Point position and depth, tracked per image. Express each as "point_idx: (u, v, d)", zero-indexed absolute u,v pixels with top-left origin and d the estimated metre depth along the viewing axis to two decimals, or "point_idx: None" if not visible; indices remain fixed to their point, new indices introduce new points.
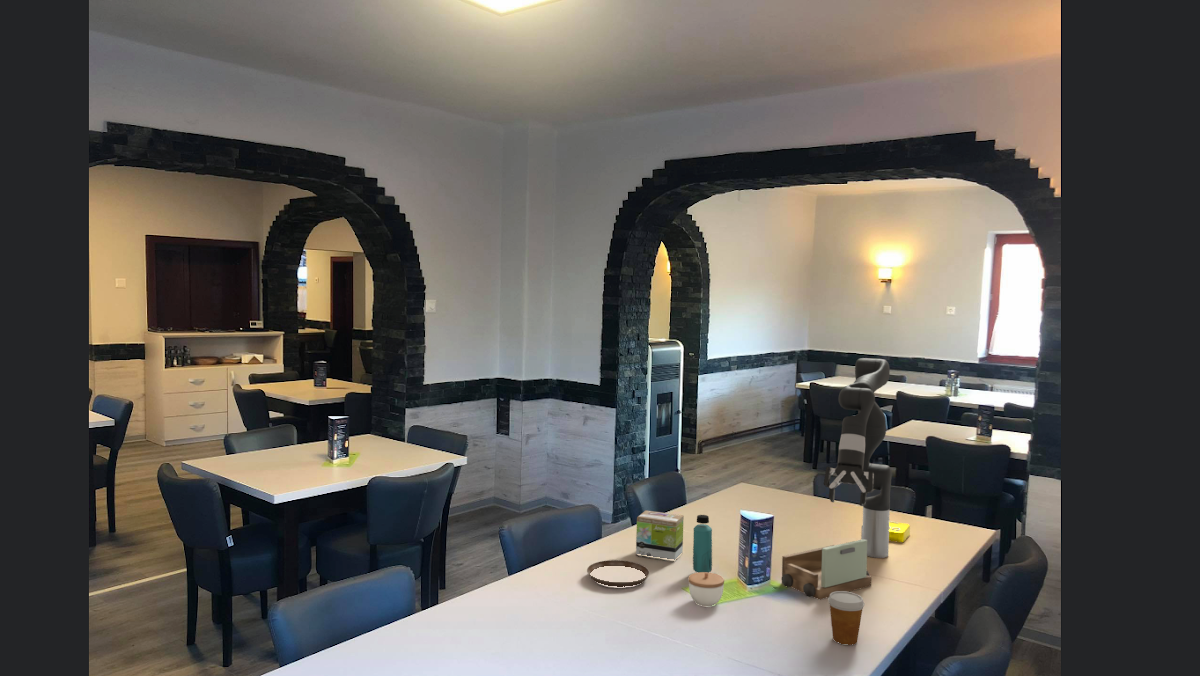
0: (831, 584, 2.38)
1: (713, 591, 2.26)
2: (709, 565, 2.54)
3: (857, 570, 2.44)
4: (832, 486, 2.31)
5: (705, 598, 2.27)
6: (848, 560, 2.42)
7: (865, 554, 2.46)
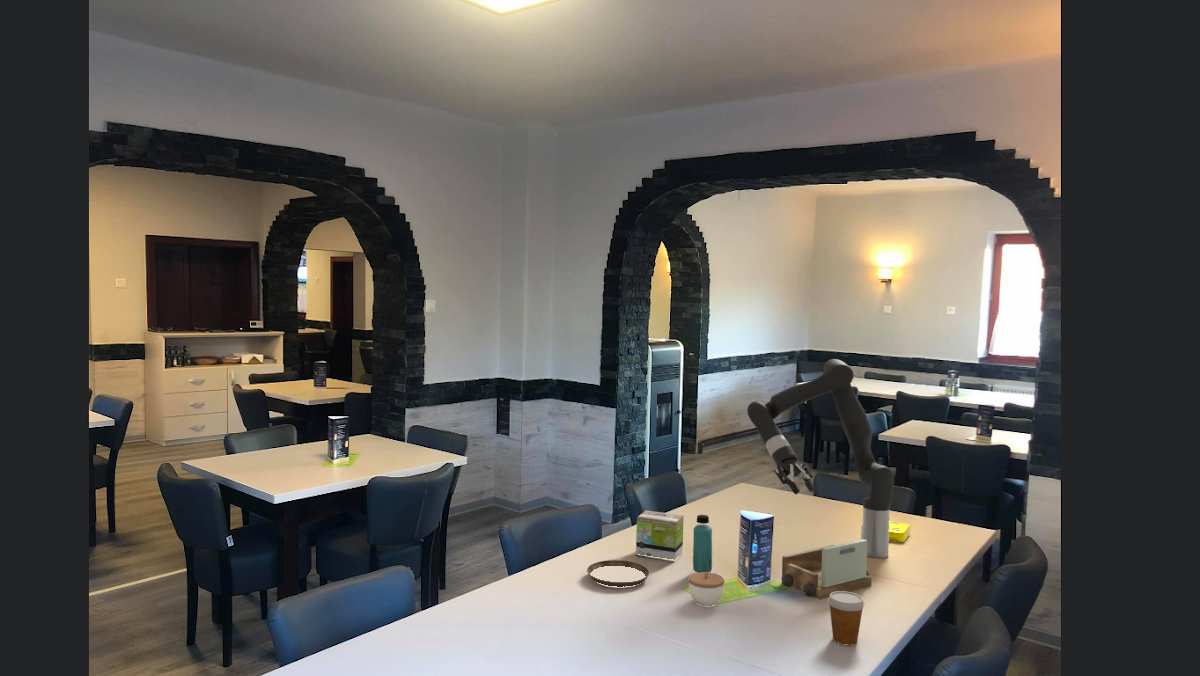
0: (831, 584, 2.38)
1: (713, 591, 2.26)
2: (709, 565, 2.54)
3: (857, 570, 2.44)
4: None
5: (705, 598, 2.27)
6: (848, 560, 2.42)
7: (865, 554, 2.46)
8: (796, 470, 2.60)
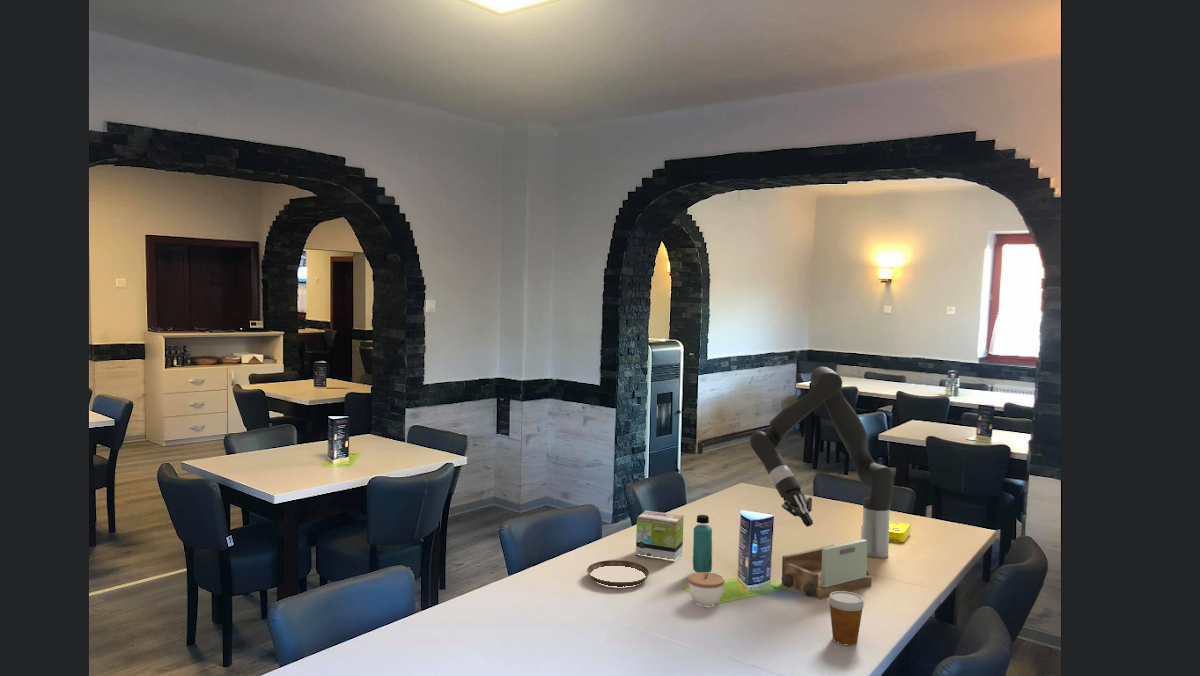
0: (831, 584, 2.38)
1: (713, 591, 2.26)
2: (709, 565, 2.54)
3: (857, 570, 2.44)
4: None
5: (705, 598, 2.27)
6: (848, 560, 2.42)
7: (865, 554, 2.46)
8: None
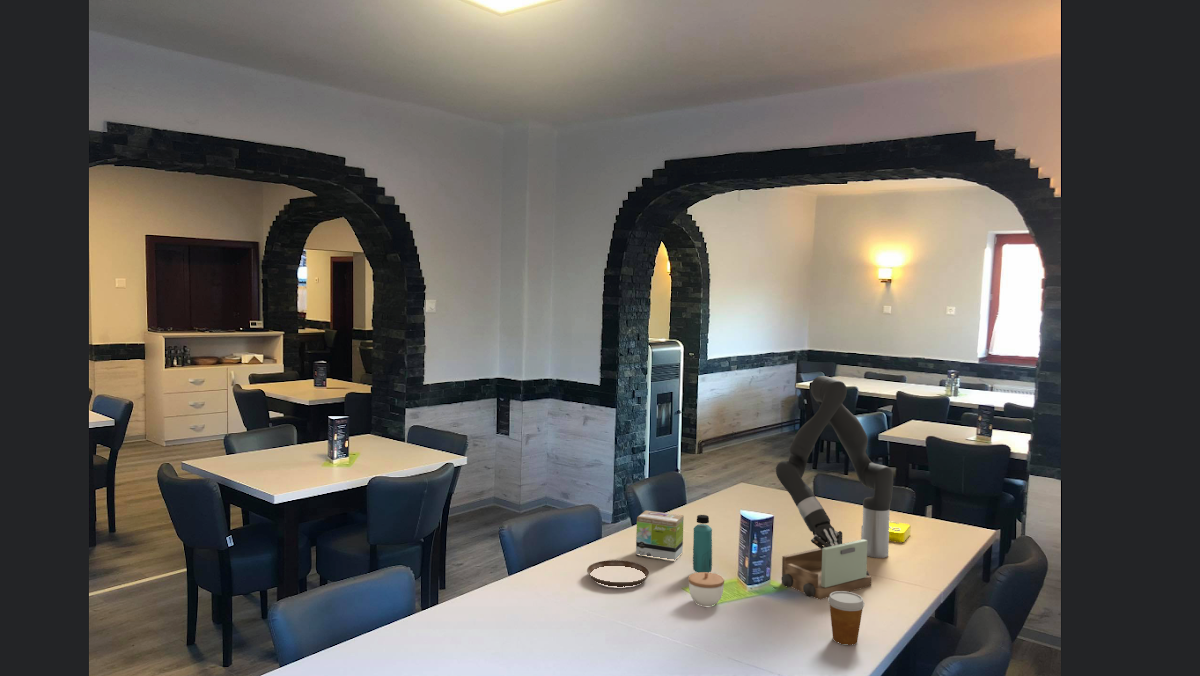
0: (831, 584, 2.38)
1: (713, 591, 2.26)
2: (709, 565, 2.54)
3: (857, 570, 2.44)
4: None
5: (705, 598, 2.27)
6: (848, 560, 2.42)
7: (865, 554, 2.46)
8: None
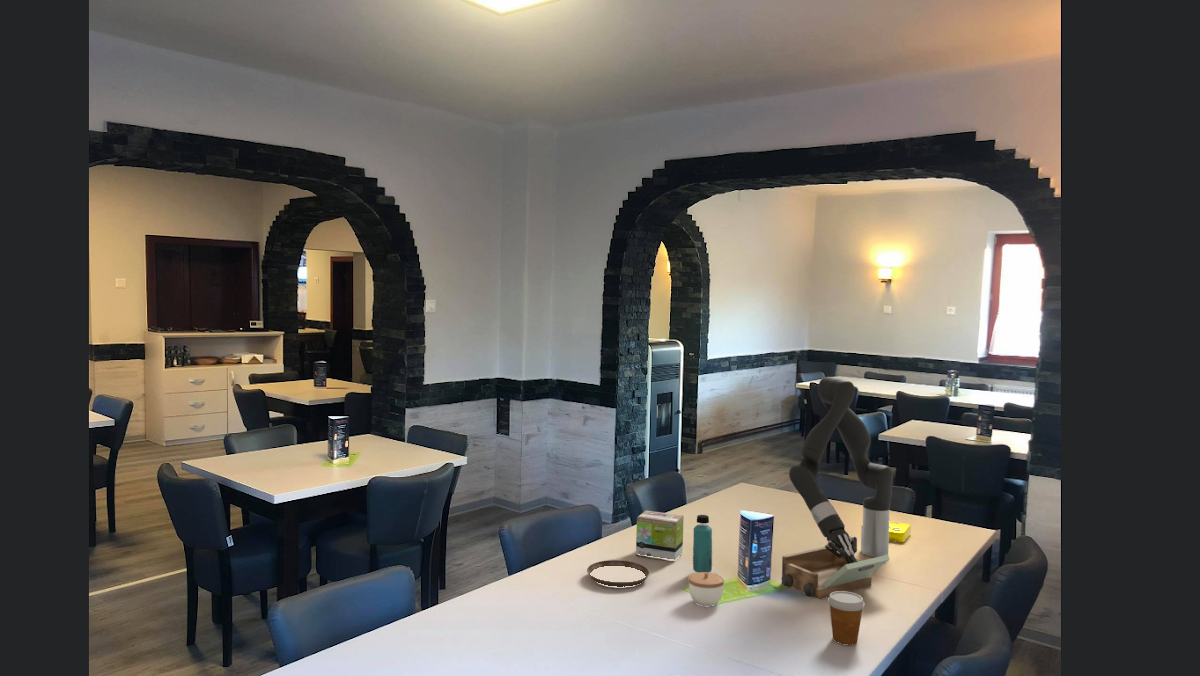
0: (832, 585, 2.38)
1: (713, 591, 2.26)
2: (709, 565, 2.54)
3: (863, 575, 2.42)
4: None
5: (705, 598, 2.27)
6: (861, 571, 2.37)
7: (879, 566, 2.41)
8: None
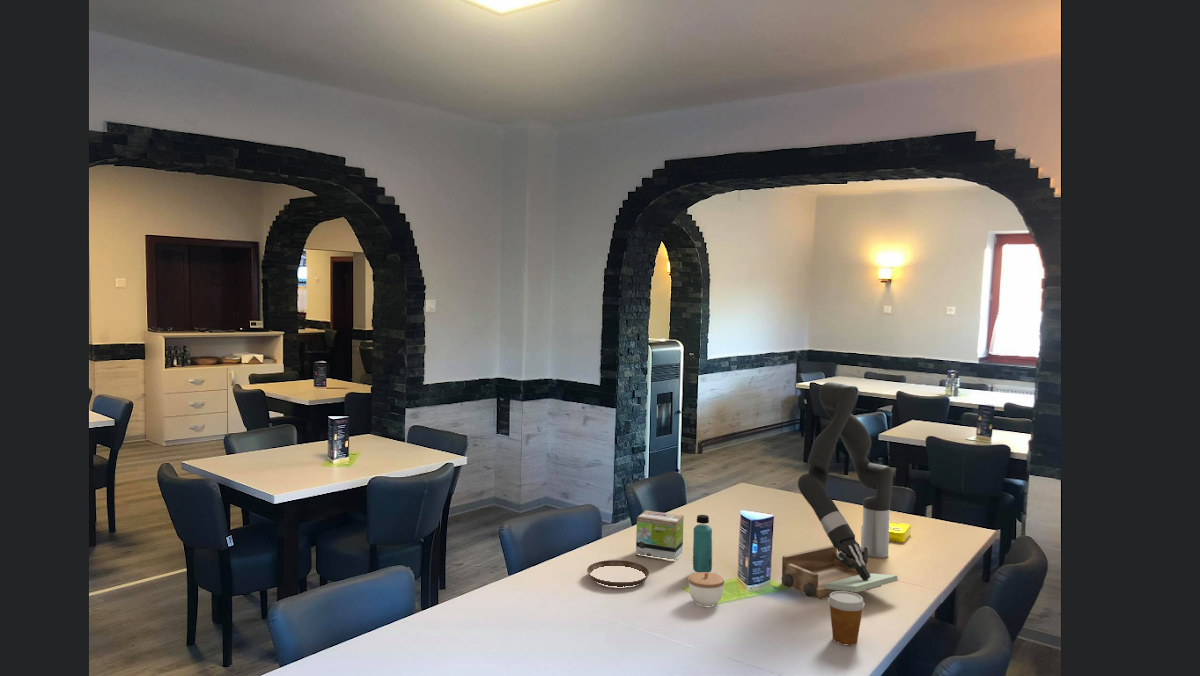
0: None
1: (713, 591, 2.26)
2: (709, 565, 2.54)
3: None
4: None
5: (705, 598, 2.27)
6: None
7: None
8: None
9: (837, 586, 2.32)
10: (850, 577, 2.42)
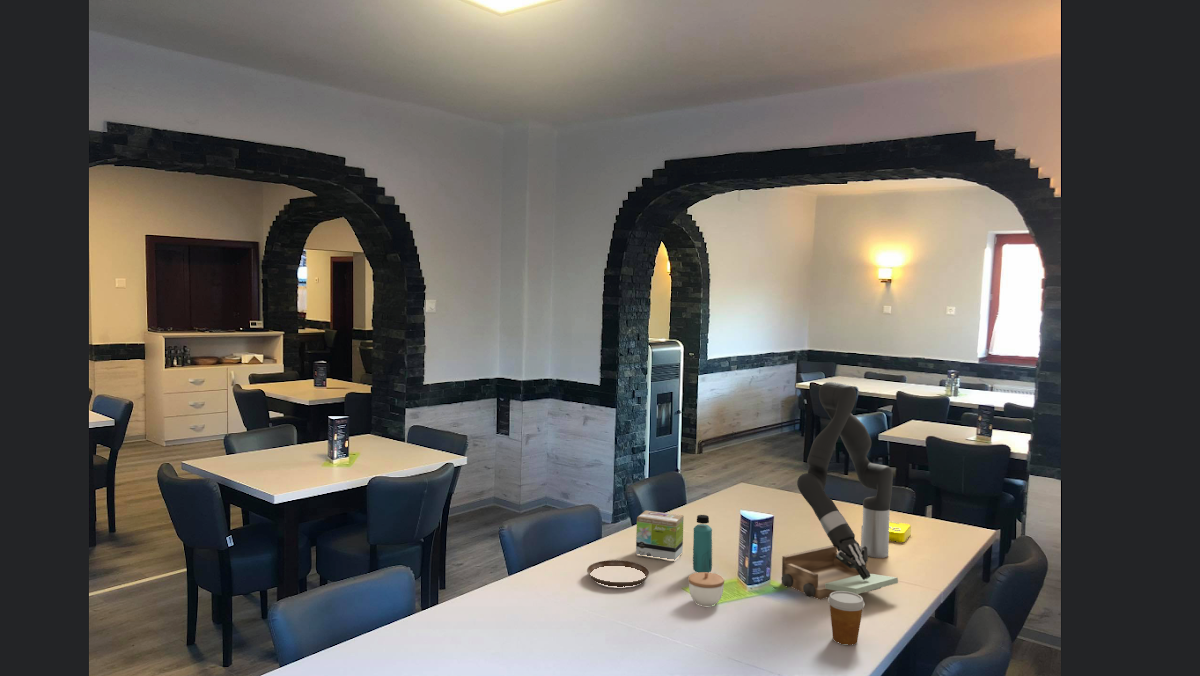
0: None
1: (713, 591, 2.26)
2: (709, 565, 2.54)
3: None
4: None
5: (705, 598, 2.27)
6: None
7: None
8: None
9: (837, 587, 2.32)
10: (850, 577, 2.42)
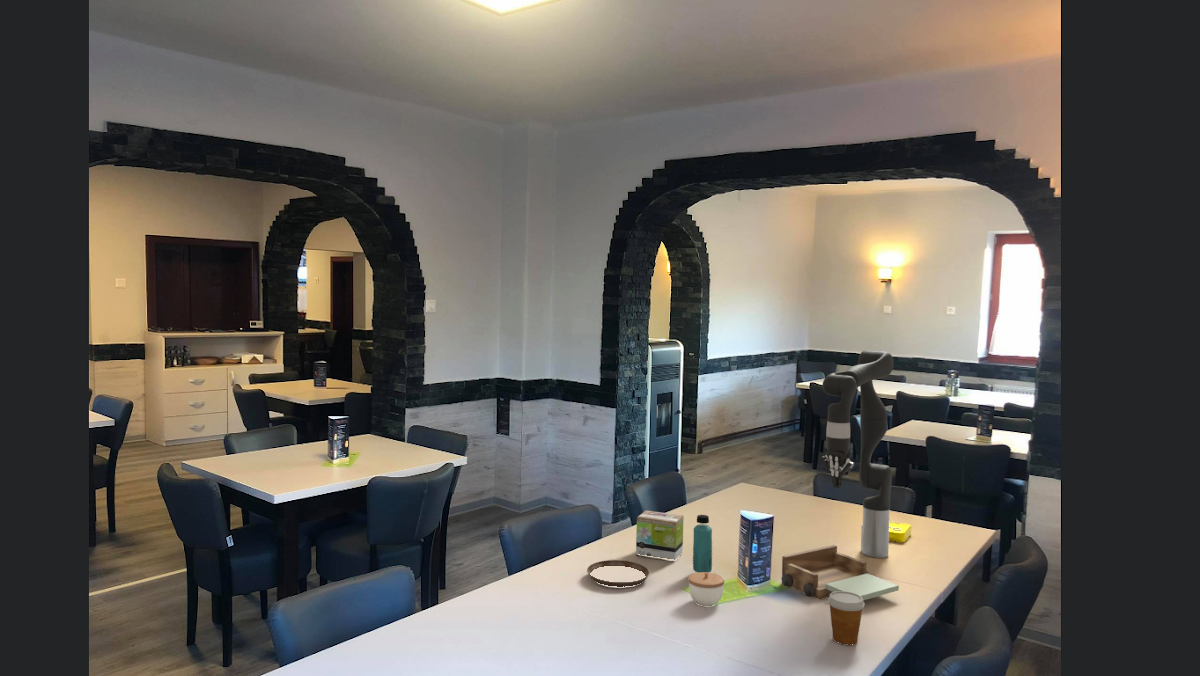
0: None
1: (713, 591, 2.26)
2: (709, 565, 2.54)
3: None
4: (833, 473, 2.51)
5: (705, 598, 2.27)
6: None
7: None
8: None
9: (838, 590, 2.32)
10: (851, 578, 2.41)
